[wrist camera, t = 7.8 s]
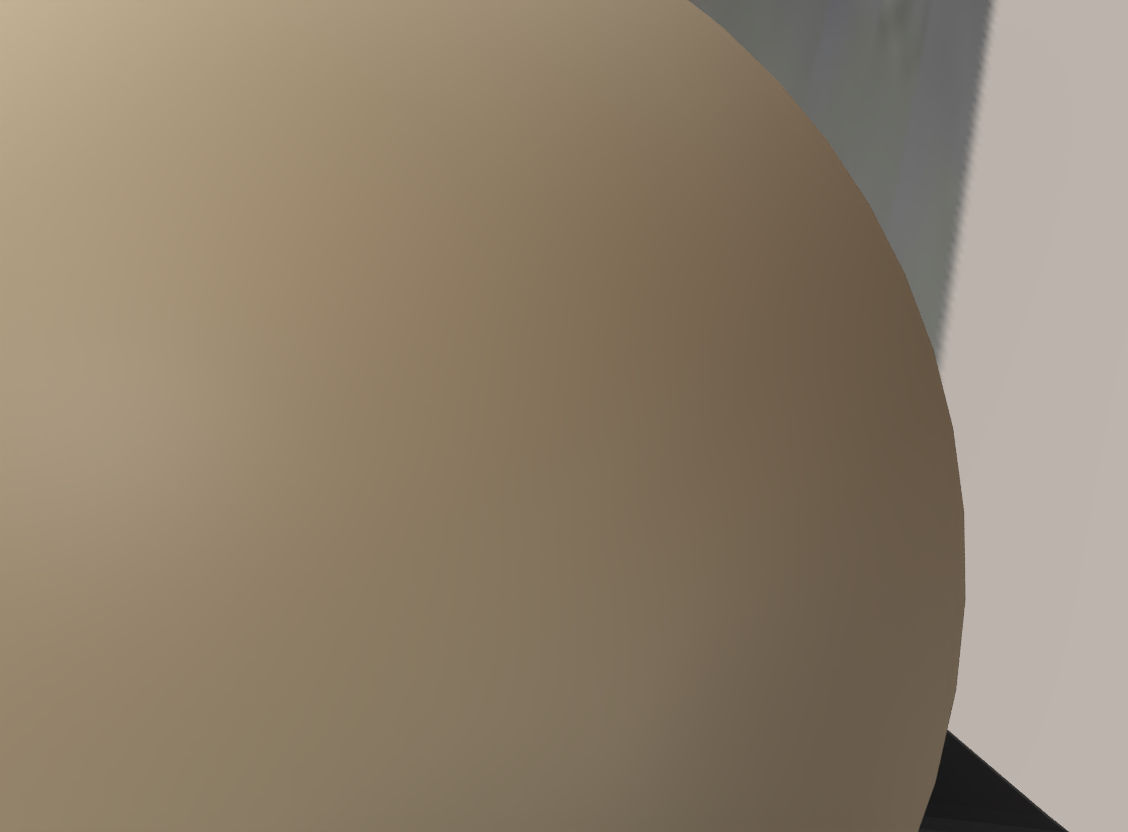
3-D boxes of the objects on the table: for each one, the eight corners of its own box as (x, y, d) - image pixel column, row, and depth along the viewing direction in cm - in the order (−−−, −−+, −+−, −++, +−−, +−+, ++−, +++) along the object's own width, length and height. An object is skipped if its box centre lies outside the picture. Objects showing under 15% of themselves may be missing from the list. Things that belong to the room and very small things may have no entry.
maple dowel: (568, 624, 15) (1201, 774, 3) (332, 752, 14) (-420, 2073, 2) (462, 406, 16) (594, -265, 3) (227, 510, 15) (-921, 44, 2)
